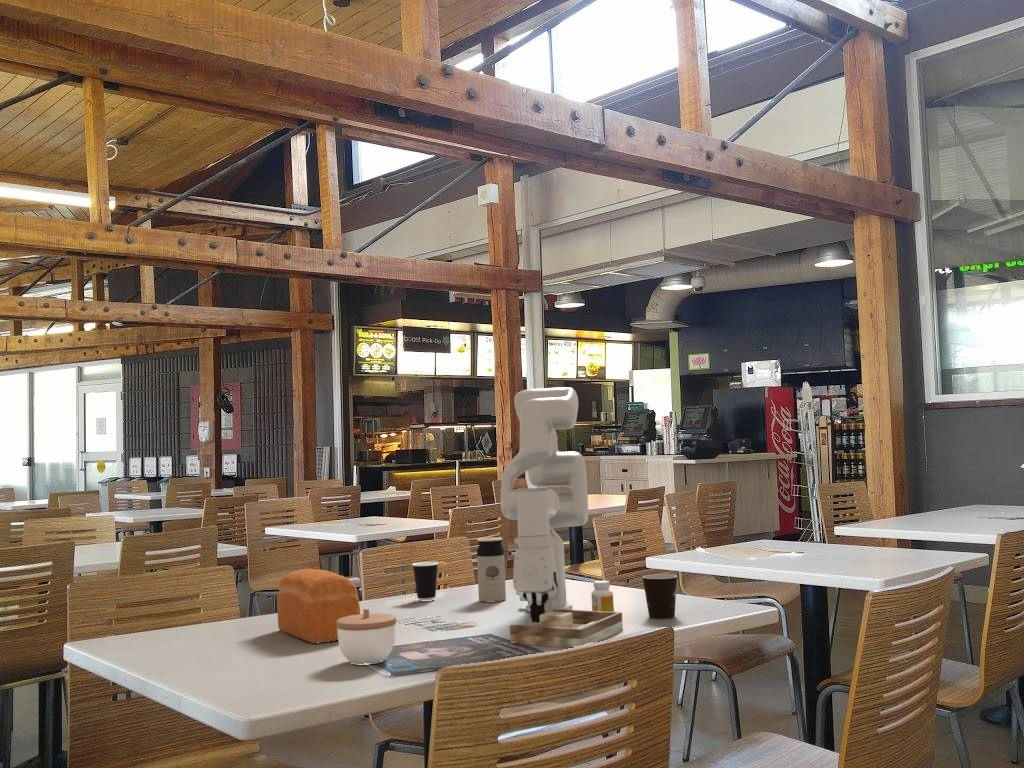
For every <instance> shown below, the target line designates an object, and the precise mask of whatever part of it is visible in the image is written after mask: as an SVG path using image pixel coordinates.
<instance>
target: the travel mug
mask: <svg viewBox="0 0 1024 768" xmlns="http://www.w3.org/2000/svg"><path fill="white" fill-rule="evenodd" d="M502 541H503V538H502V537H500V536H499V537H496V536H494V537H492V536H491V537H489V536H488V537H480V538H477V542H478V547H477V548H476V549H477V550H476V561H477V564H476V565H477V587H478V588H477V589H478V601H480V602H481V601H500V602H502V601H501V600H504V601H505V600H506V599H507V593H506V592H507V591H506V571H505V570H506V569H505V567H506V566H505V549H504V547H503V545H502Z"/></svg>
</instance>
